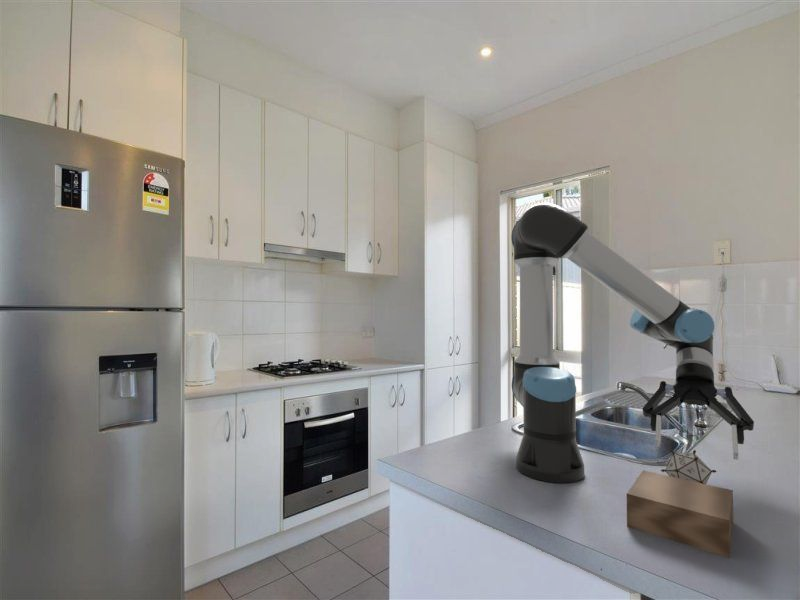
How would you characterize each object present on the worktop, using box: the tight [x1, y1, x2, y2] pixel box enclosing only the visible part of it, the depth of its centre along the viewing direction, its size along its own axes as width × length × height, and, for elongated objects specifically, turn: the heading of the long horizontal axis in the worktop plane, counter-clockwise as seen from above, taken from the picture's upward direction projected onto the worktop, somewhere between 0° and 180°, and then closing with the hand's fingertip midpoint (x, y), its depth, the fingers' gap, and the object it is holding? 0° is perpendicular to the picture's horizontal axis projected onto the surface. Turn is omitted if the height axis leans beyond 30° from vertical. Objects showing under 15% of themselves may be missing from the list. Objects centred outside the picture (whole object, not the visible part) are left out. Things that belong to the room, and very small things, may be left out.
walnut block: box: [626, 470, 735, 559], centre depth 72 cm, size 14×14×6 cm
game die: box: [660, 449, 718, 484], centre depth 86 cm, size 9×8×10 cm
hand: (694, 449), depth 88 cm, fingers open, 13 cm apart
